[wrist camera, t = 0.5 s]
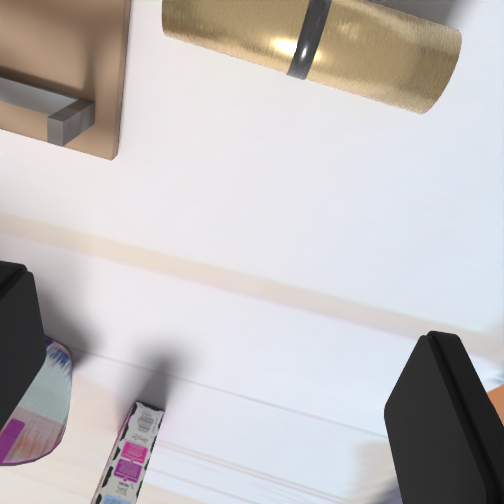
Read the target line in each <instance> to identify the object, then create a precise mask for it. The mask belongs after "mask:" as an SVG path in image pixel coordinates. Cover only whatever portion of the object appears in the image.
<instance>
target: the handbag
mask: <svg viewBox="0 0 504 504" xmlns="http://www.w3.org/2000/svg"><path fill="white" fill-rule="evenodd" d="M44 338H45V343H46V349H47V355H46V359H45V362H44V364H43V366H42V368H41V369H40V371H39V372H38V374H37V376H36V377H35V379H34V380H33V382H32V383H31V385H30V386H29V388H28V390H27V391H26V393H25V394H24V396H23V397H22V399H21V400H20V402H19V404H18V405H17V407H16V408H15V410H14V411H13V413H12V414H11V416H10V418H9V419H8V421H7V422H6V424H5V425H4V427H3V428H2V430H1V432H0V466H16V465H21V464H26V463H31V462H35V461H36V460H38V459H40V458H42V457H44V456H46V455H48V454H50V453H51V452H52V451H53V450H54V449H55V448H56V447H57V446H58V444H59V443H60V442H61V440H62V437H63V434H64V432H65V429H66V424H67V419H68V413H69V407H70V398H71V387H72V367H73V366H72V362H71V358H70V353H69V351H68V350H67V349H66V348H65V347H64V346H63V345H61V344H59V343H57V342H55V341H53V340H51V339H49V338H47V337H45V336H44Z"/></svg>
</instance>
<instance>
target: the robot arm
mask: <svg viewBox="0 0 504 504" xmlns="http://www.w3.org/2000/svg"><path fill="white" fill-rule="evenodd" d="M46 355H47V349H46V343H45V338H44V332H43V326H42V321H41V315H40V309H39V304H38V298H37V293H36V287H35V281H34V276H33V274H32V273H31V272H28V271H27V268H26V267H25V265H23V264H18V263H11V262H5V261H0V432H1V430H2V428H3V427H4V425H5V424H6V422H7V421H8V419H9V418H10V416H11V414H12V413H13V411H14V410H15V408H16V407H17V405H18V404H19V402H20V400H21V399H22V397H23V396H24V394H25V393H26V391H27V390H28V388H29V386H30V385H31V383H32V382H33V380H34V379H35V377H36V376H37V374H38V372H39V371H40V369H41V368H42V366H43V364H44V362H45V359H46ZM384 419H385V424H386V429H387V433H388V438H389V442H390V447H391V452H392V456H393V461H394V465H395V470H396V474H397V479H398V483H399V488H400V492H401V497H402V502H403V504H504V426H503V424H502V422H501V420H500V418H499V416H498V414H497V412H496V410H495V408H494V406H493V404H492V403H491V401H490V399H489V398H488V395H487V393H486V391H485V389H484V387H483V385H482V383H481V381H480V379H479V377H478V375H477V373H476V371H475V368H474V366H473V364H472V362H471V360H470V358H469V356H468V354H467V352H466V350H465V348H464V346H463V344H462V342H461V340H460V338H459V337H458V336H457V335H456V334H451V333H444V332H438V331H430V332H429V333H428V334H427V335H426V336H425V335H422V336H421V337H420V338H419V340H418V342H417V344H416V346H415V348H414V350H413V351H412V353H411V355H410V357H409V359H408V361H407V363H406V365H405V367H404V369H403V371H402V373H401V375H400V377H399V379H398V381H397V383H396V385H395V387H394V389H393V391H392V393H391V395H390V397H389V399H388V401H387V402H386V405H385V409H384Z"/></svg>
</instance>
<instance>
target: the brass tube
mask: <svg viewBox="0 0 504 504" xmlns="http://www.w3.org/2000/svg"><path fill="white" fill-rule="evenodd" d="M162 26H163V31H164V34H165V35H166V36H168V37H171V38H174V39H177V40H181V41H184V42H187V43H190V44H194V45H197V46H200V47H203V48H207V49H210V50H213V51H216V52H220V53H223V54H226V55H229V56H232V57H236V58H239V59H242V60H245V61H249V62H252V63H255V64H258V65H262V66H265V67H268V68H271V69H275V70H278V71H281V72H284V73H286V75H289V76H292V77H296V78H299V79H302V80H305V79H307V80H310V81H313V82H317V83H320V84H323V85H326V86H330V87H333V88H336V89H339V90H343V91H346V92H349V93H352V94H356V95H359V96H362V97H365V98H369V99H372V100H375V101H378V102H381V103H385V104H388V105H391V106H394V107H398V108H401V109H404V110H407V111H411V112H414V113H417V114H423V113H425V112H427V111H428V110H429V109H430V108H431V107H432V106H433V105H434V104H435V103H436V101H437V100H438V99H439V97H440V96H441V94H442V93H443V91H444V89H445V88H446V86H447V84H448V82H449V80H450V78H451V76H452V74H453V71H454V69H455V66H456V64H457V61H458V57H459V54H460V49H461V43H462V37H461V33H460V31H459V30H457V29H454V28H451V27H448V26H445V25H442V24H439V23H435V22H432V21H429V20H426V19H423V18H420V17H417V16H414V15H411V14H408V13H405V12H402V11H399V10H396V9H393V8H390V7H387V6H383V5H380V4H377V3H374V2H371V1H368V0H163V1H162Z"/></svg>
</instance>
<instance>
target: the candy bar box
mask: <svg viewBox="0 0 504 504" xmlns="http://www.w3.org/2000/svg"><path fill="white" fill-rule="evenodd" d="M164 413H165V412H164V411H162V410H160V409H157V408H154V407H151V406H149V405H146V404H144V403H141V402H138V401H135V403H134V405H133V407H132V409H131V411H130V413H129V415H128V417H127V419H126V420H125V422H124V424H123V426H122V428H121V430H120V432H119V434H118V437H117V439H116V441H115V444H114V446H113V449H112V451H111V454H110V456H109V459H108V461H107V464H106V466H105V469H104V471H103V474H102V476H101V479H100V481H99V484H98V486H97V489H96V491H95V494H94V496H93V499H92V501H91V504H136V501H137V498H138V495H139V491H140V488H141V485H142V482H143V479H144V476H145V473H146V469H147V466H148V463H149V460H150V457H151V453H152V450H153V447H154V444H155V441H156V438H157V434H158V431H159V428H160V425H161V422H162V418H163V415H164Z"/></svg>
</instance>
